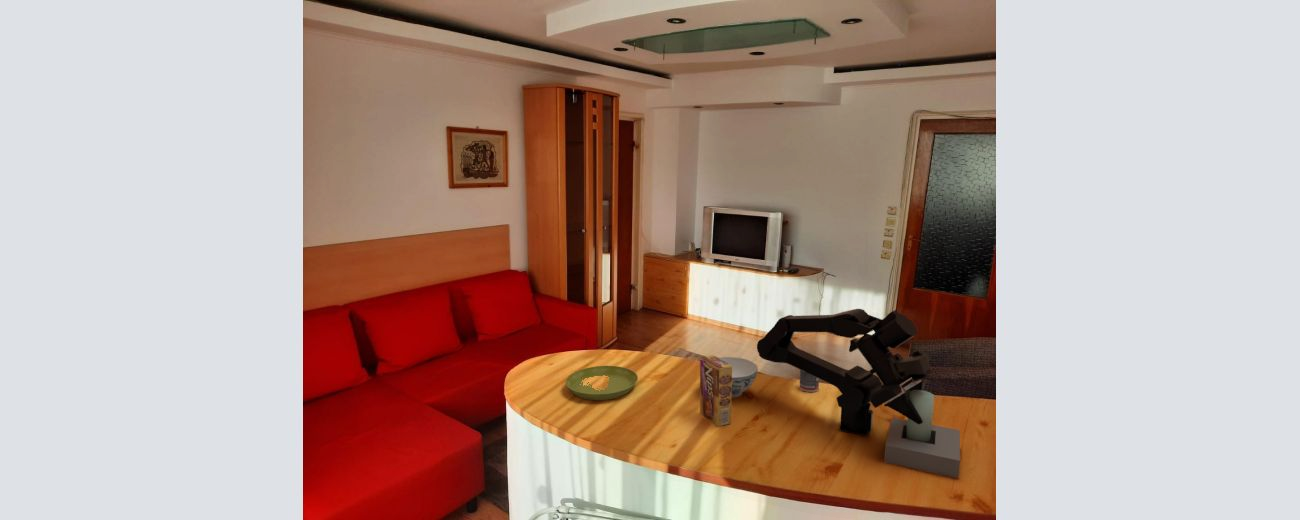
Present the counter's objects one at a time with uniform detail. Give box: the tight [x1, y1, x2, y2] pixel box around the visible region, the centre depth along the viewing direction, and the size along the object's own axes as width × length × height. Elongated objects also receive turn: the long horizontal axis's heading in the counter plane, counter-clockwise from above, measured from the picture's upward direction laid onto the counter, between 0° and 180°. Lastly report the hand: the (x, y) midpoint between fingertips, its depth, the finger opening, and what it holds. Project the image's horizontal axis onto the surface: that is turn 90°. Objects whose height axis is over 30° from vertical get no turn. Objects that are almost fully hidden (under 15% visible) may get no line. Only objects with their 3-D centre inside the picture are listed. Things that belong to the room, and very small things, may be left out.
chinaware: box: [717, 356, 759, 399], centre depth 156 cm, size 15×15×8 cm
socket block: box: [883, 417, 961, 479], centre depth 123 cm, size 14×14×4 cm
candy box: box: [699, 354, 733, 427], centre depth 141 cm, size 9×4×15 cm, turn 26°
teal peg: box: [906, 389, 935, 444], centre depth 124 cm, size 5×5×12 cm
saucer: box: [565, 365, 639, 401], centre depth 161 cm, size 21×21×3 cm
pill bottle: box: [798, 369, 820, 393], centre depth 158 cm, size 5×5×9 cm
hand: (926, 419), depth 123 cm, fingers closed on teal peg, 5 cm apart
